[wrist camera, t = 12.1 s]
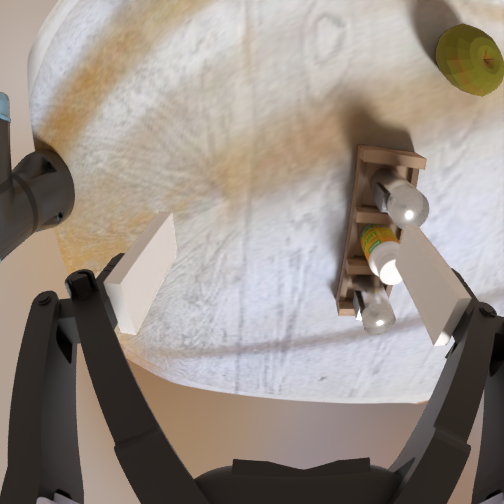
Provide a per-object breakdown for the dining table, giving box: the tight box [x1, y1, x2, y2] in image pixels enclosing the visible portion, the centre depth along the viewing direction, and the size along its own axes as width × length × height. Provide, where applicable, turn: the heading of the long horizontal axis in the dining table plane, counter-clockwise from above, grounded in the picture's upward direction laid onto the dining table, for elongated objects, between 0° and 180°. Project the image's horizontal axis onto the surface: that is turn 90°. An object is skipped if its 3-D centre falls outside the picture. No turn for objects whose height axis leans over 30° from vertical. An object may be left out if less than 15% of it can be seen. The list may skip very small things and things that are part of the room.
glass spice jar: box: [352, 274, 396, 335], centre depth 42 cm, size 5×5×10 cm
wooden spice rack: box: [336, 145, 427, 316], centre depth 42 cm, size 9×27×4 cm, turn 1°
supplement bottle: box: [360, 223, 402, 285], centre depth 38 cm, size 5×5×10 cm
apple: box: [436, 24, 504, 97], centre depth 23 cm, size 10×10×11 cm
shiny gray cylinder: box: [370, 167, 429, 230], centre depth 34 cm, size 5×5×10 cm
